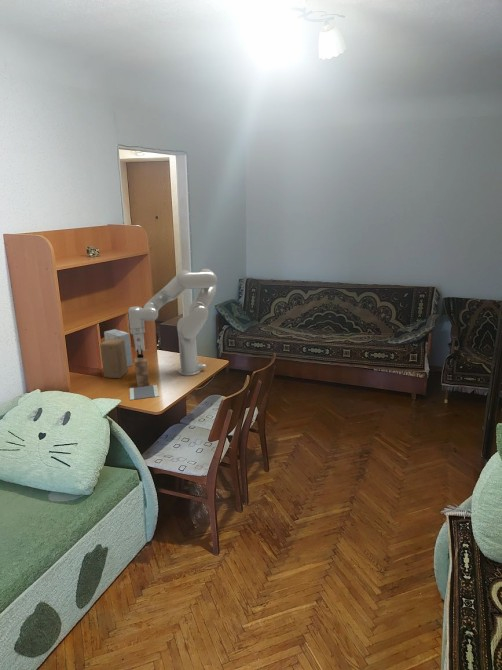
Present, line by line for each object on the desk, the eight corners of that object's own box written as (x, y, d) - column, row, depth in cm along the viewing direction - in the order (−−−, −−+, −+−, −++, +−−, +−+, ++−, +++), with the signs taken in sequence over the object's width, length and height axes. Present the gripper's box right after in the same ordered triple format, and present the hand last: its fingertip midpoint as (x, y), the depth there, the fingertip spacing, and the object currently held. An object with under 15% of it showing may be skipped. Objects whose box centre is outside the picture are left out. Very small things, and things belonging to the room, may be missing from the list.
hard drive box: (133, 365, 269) (129, 333, 263) (122, 369, 263) (118, 336, 257) (118, 359, 279) (114, 328, 272) (107, 363, 273) (103, 331, 267)
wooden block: (120, 378, 250) (116, 344, 244) (103, 377, 252) (99, 343, 246) (128, 372, 259) (124, 338, 253) (112, 371, 261) (108, 337, 255)
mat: (157, 385, 240) (157, 384, 240) (159, 396, 228) (158, 395, 227) (129, 388, 237) (129, 388, 237) (130, 400, 224) (130, 399, 224)
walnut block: (148, 381, 246) (146, 357, 242) (149, 385, 240) (146, 360, 236) (137, 382, 244) (134, 358, 240) (137, 387, 239) (134, 362, 235)
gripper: (145, 333, 237) (148, 366, 243) (144, 325, 251) (147, 356, 256) (130, 334, 235) (133, 367, 241) (130, 326, 249) (133, 358, 255)
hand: (140, 361), depth 249 cm, fingers closed
